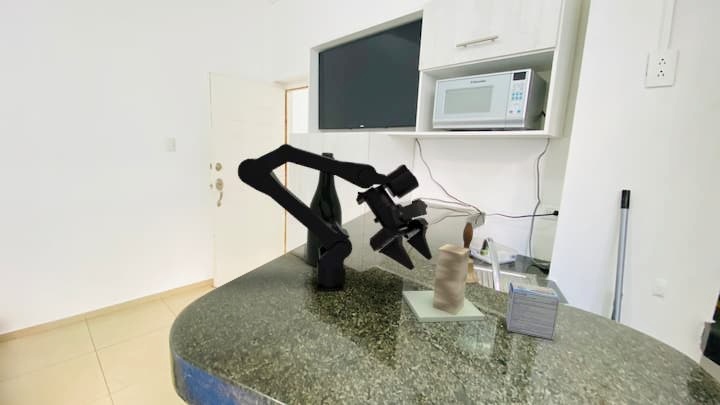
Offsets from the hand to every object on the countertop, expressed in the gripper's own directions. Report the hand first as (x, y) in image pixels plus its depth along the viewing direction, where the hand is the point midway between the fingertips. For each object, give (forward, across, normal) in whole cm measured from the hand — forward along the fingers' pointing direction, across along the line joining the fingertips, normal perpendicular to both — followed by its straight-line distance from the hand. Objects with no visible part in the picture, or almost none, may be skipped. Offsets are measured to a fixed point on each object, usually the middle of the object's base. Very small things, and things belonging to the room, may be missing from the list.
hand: (422, 263), depth 67 cm
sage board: (+10, +1, +3) cm, 10 cm away
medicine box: (+22, +4, -9) cm, 24 cm away
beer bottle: (-17, +3, +30) cm, 35 cm away
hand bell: (+9, +22, +4) cm, 24 cm away
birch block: (+10, 0, +1) cm, 11 cm away
